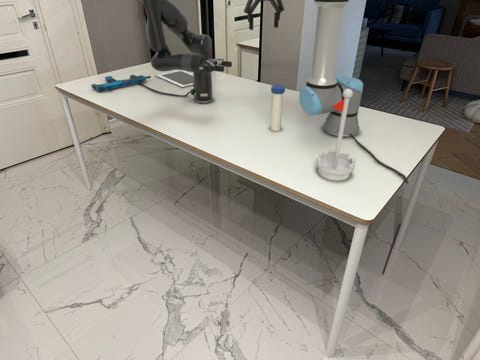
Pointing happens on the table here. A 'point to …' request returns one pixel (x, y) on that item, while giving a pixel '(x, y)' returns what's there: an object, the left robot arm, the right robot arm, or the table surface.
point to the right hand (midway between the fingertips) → (263, 28)
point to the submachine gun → (119, 82)
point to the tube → (276, 111)
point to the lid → (277, 89)
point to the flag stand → (337, 149)
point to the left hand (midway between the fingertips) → (227, 66)
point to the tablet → (178, 78)
